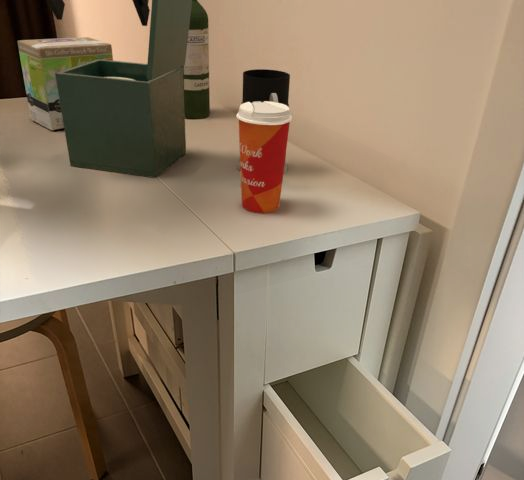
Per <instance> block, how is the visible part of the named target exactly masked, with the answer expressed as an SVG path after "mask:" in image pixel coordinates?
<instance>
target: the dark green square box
mask: <svg viewBox="0 0 524 480" xmlns="http://www.w3.org/2000/svg"><path fill="white" fill-rule="evenodd" d="M55 76H56V82H57V88H58V94H59V100H60V106H61V112H62V118H63V124H64V128H63V129H64V130H63V131H64V135H65V136H64V137H65V142H66V147H67V154H68V158H69V165H70V167H76V168H82V169H90V170H97V171H104V172H111V173H118V174H126V175H133V176H138V177H139V176H141V177H146V178H147V177H148V178H154V179H156V178H158V177H159V176H161V175H162V174H163V173H164V172H165V171H167V170H168V169H169V168H171V166H173V165H174V164H175V163H176V162H178V161H179V160H180V159H182V158H183V157H184V156H185V155H187V143H186V142H187V140H186V139H187V138H186V118H185V113H184V88H183V68H182V67H179V68H177V69H175V70H173V71H170V72H168V73H166V74H164V75H162V76H159V77H157V78H155V79H153V80H149V79H146V77H147V63H141V62H132V61H131V62H129V61H122V60H121V61H120V60H113V61H112V60H102V59H97V60H94V61H91V62H88V63H85V64H82V65H79V66H76V67H73V68H70V69H67V70H63V71H60V72H57V73H55ZM107 77H123V78H129V79H133V80H126V79H116V78H107ZM135 80H136V81H135Z"/></svg>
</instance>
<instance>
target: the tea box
mask: <svg viewBox="0 0 524 480" xmlns="http://www.w3.org/2000/svg"><path fill="white" fill-rule="evenodd" d="M17 47H18V55H19V59H20V65H21V70H22V76H23V83H24V87H25V94H26V99H27V105H28V106H27V107H28V110H29V116H30V120H32V121H34V122H35V123H37V124H38V125H40V126H43V127H44V128H45V129H48V130H50V131H56V130H60V129H61V130H62V129H64V124H63V118H62V112H61V106H60V100H59V94H58V88H57V82H56V76H55V73H57V72H60V71H63V70H67V69H70V68H73V67H76V66H79V65H82V64H85V63H88V62H91V61H94V60H97V59H102V60H112V61H114V57H113V47H112V44H111V43H109V42H105V41H101V40H98V39H95V38H92V37H89V36H84V37H83V36H82V37H63V38H62V37H60V38H42V39H41V38H40V39H21V40H17Z"/></svg>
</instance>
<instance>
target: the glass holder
mask: <svg viewBox="0 0 524 480" xmlns="http://www.w3.org/2000/svg"><path fill="white" fill-rule="evenodd" d="M290 81H291V74H290V73H288V72H286V71H282V70H277V69H266V68H263V69H259V68H257V69H248V70H244V71H243V72H242V101H241V104H243V103H246V102H250V103H253V102H258V101H261V102H264V101H269V102H277V103H281V104H284V105H287V106H288V107H289V108H290V103H289V99H290V97H289V96H290ZM241 104H240V105H241ZM286 157H287V155H286V156H285V165H284V173H283V175H284V174H286V173H287V172H288V166H287V162H286V160H287V159H286ZM237 170H238V171H239V172H241V171H240V161H239V162H238V165H237Z"/></svg>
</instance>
